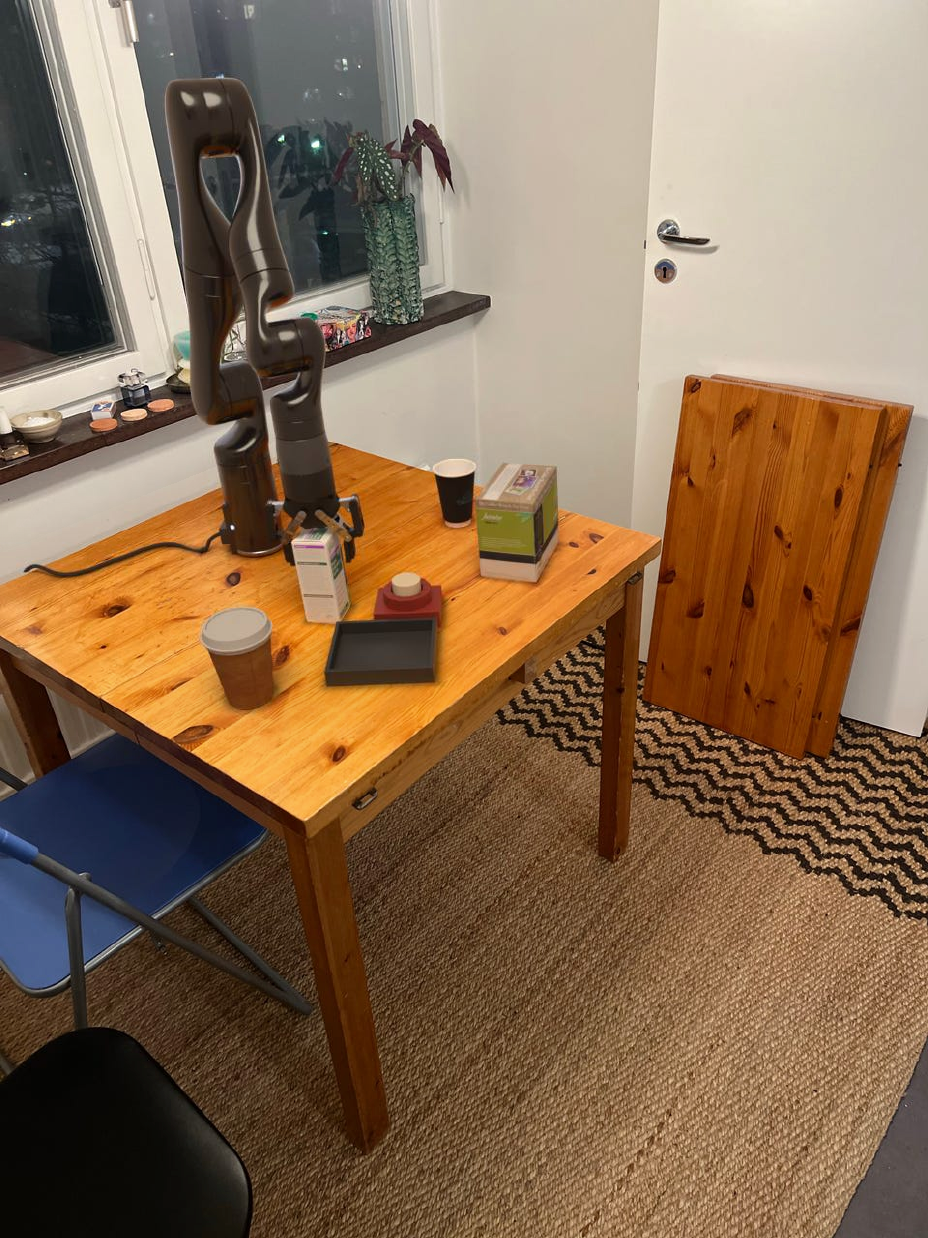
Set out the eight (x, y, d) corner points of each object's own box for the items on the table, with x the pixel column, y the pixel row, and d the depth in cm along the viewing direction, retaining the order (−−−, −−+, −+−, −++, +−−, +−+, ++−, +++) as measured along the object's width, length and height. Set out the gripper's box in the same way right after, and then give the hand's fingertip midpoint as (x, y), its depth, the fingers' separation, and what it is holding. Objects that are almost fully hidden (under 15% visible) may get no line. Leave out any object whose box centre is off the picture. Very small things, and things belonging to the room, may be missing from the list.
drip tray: (326, 687, 128) (324, 672, 127) (338, 635, 139) (336, 621, 138) (434, 682, 127) (433, 667, 126) (437, 631, 139) (436, 616, 137)
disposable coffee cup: (221, 679, 131) (204, 608, 125) (288, 673, 131) (274, 601, 125) (211, 720, 123) (192, 646, 117) (282, 713, 123) (267, 639, 117)
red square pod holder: (375, 630, 140) (372, 602, 137) (380, 603, 146) (376, 576, 144) (440, 628, 139) (438, 600, 137) (442, 601, 146) (440, 573, 143)
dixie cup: (473, 532, 166) (469, 476, 160) (431, 529, 168) (426, 474, 162) (483, 514, 172) (480, 459, 167) (443, 511, 174) (439, 457, 168)
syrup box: (340, 624, 142) (327, 541, 134) (304, 622, 143) (290, 540, 135) (351, 605, 146) (340, 524, 139) (317, 603, 148) (303, 522, 140)
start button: (391, 598, 139) (390, 587, 138) (394, 583, 142) (392, 572, 141) (420, 597, 138) (419, 585, 137) (422, 582, 142) (421, 571, 141)
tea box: (505, 537, 164) (502, 460, 156) (560, 543, 160) (559, 464, 153) (478, 577, 152) (473, 496, 144) (536, 585, 149) (535, 502, 141)
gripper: (357, 450, 134) (370, 548, 142) (261, 455, 135) (280, 553, 143) (351, 469, 128) (365, 571, 136) (250, 475, 128) (270, 576, 137)
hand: (321, 562), depth 140 cm, fingers open, 8 cm apart
